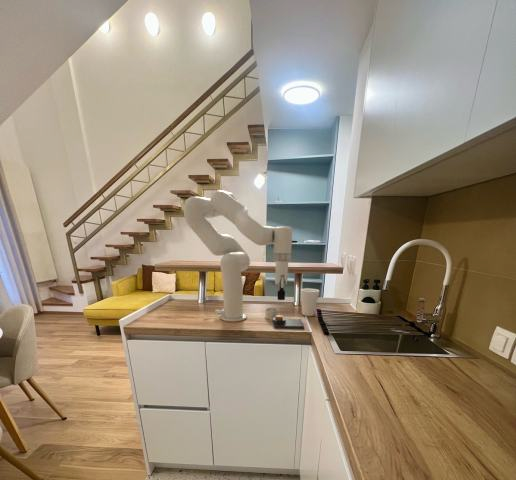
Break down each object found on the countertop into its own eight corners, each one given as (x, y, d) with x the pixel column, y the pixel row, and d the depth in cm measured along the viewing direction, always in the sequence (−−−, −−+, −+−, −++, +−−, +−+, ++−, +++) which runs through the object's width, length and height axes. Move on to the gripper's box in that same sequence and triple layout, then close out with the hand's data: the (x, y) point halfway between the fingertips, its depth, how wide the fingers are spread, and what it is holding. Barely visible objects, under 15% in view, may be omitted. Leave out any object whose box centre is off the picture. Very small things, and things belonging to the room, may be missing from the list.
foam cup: (316, 312, 153) (318, 288, 148) (317, 317, 145) (320, 292, 140) (298, 311, 154) (300, 288, 149) (299, 316, 145) (301, 291, 140)
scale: (272, 328, 127) (273, 322, 126) (272, 321, 137) (272, 315, 136) (303, 329, 127) (304, 322, 126) (300, 321, 137) (301, 315, 136)
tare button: (275, 320, 129) (276, 316, 129) (275, 318, 132) (275, 314, 132) (282, 320, 129) (282, 317, 129) (282, 318, 132) (282, 315, 132)
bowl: (265, 320, 139) (265, 311, 137) (265, 316, 145) (265, 307, 143) (278, 320, 138) (279, 311, 137) (278, 316, 145) (278, 307, 143)
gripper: (273, 256, 127) (272, 296, 134) (274, 259, 113) (273, 303, 120) (289, 256, 127) (288, 296, 134) (292, 259, 113) (290, 303, 120)
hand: (281, 299), depth 127 cm, fingers closed
